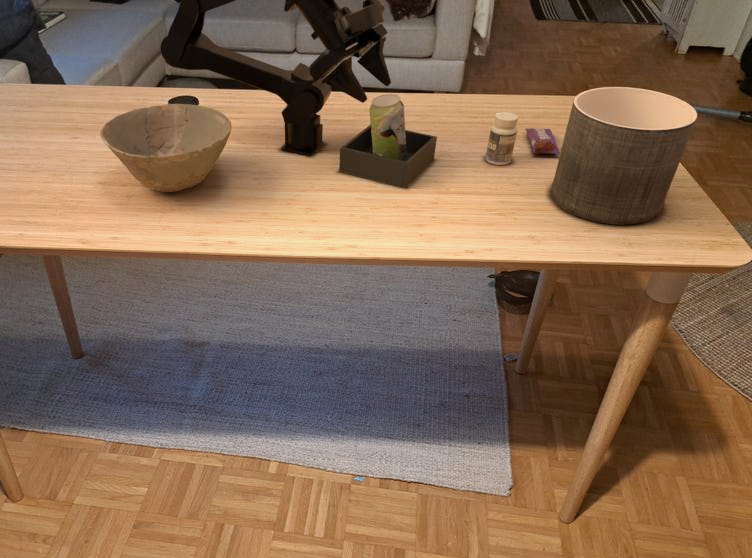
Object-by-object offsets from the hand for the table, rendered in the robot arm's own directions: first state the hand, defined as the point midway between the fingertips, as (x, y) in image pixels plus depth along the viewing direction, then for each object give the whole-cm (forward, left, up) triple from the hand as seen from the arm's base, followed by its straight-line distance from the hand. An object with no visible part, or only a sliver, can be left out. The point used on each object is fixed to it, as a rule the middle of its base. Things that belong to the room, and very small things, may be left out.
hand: (377, 92), depth 119 cm
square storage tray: (+3, 0, -13) cm, 13 cm away
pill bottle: (+21, +11, -13) cm, 27 cm away
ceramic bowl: (-30, -22, -13) cm, 40 cm away
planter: (+41, +3, -13) cm, 43 cm away
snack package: (+27, +21, -13) cm, 37 cm away
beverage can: (+3, 0, -13) cm, 13 cm away
